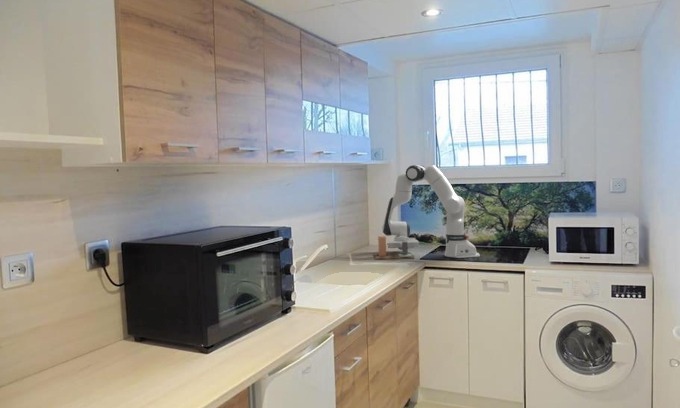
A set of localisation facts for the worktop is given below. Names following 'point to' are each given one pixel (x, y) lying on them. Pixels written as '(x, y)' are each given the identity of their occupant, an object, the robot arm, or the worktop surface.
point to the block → (382, 245)
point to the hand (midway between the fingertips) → (404, 246)
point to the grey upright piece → (405, 250)
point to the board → (391, 256)
